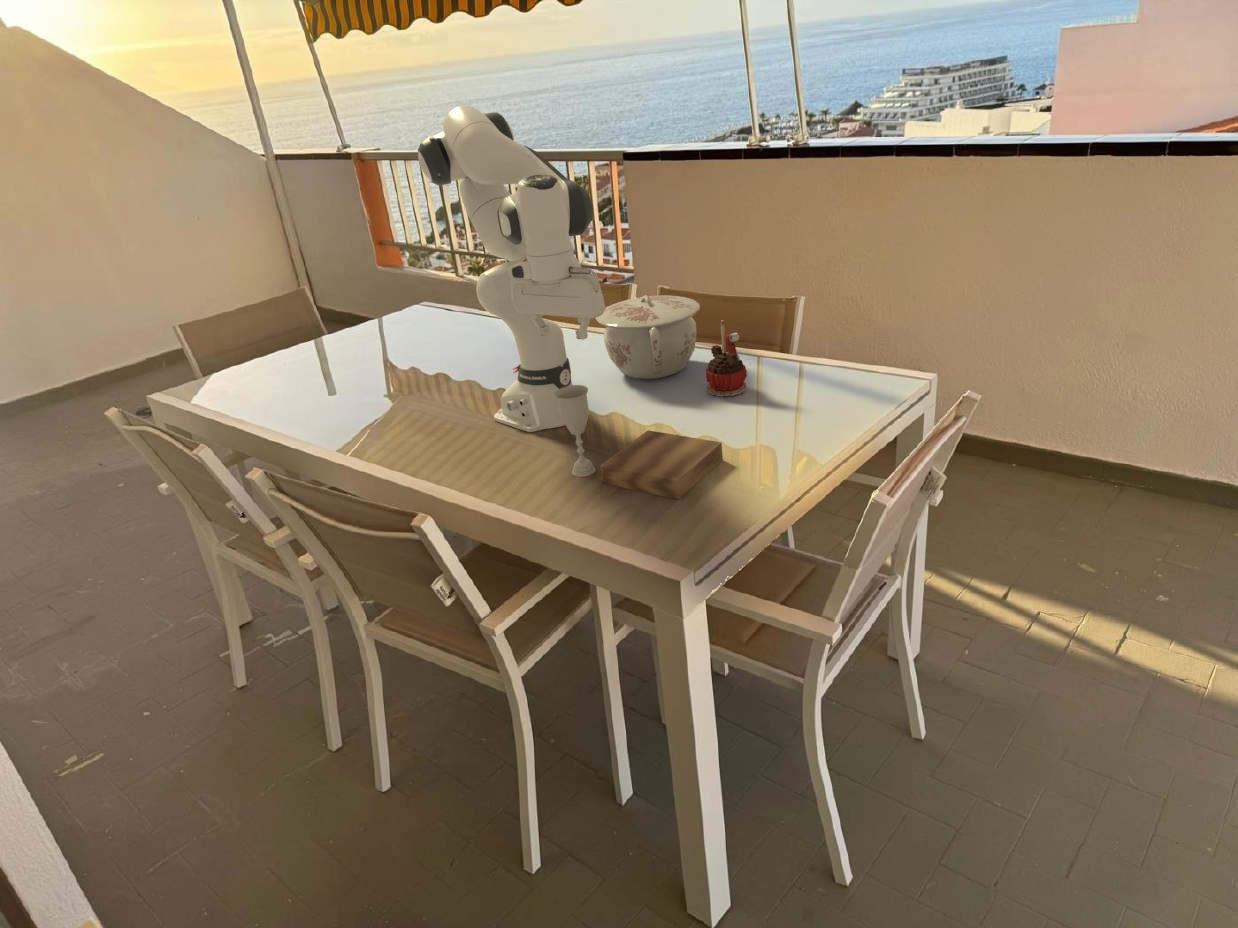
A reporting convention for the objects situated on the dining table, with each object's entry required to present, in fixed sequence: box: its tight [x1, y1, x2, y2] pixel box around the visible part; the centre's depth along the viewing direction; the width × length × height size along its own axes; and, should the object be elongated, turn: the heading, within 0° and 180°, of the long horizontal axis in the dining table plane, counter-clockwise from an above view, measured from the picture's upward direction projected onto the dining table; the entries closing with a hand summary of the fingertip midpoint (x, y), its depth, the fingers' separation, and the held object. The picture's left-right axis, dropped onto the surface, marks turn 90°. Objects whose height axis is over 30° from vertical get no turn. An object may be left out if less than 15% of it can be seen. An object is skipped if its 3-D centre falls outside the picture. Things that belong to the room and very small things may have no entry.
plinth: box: [599, 429, 724, 500], centre depth 172 cm, size 18×18×4 cm
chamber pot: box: [595, 294, 701, 380], centre depth 223 cm, size 28×28×21 cm
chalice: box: [555, 384, 596, 478], centre depth 174 cm, size 7×7×18 cm
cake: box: [705, 319, 748, 397], centre depth 204 cm, size 11×9×18 cm
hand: (563, 336), depth 165 cm, fingers open, 8 cm apart
